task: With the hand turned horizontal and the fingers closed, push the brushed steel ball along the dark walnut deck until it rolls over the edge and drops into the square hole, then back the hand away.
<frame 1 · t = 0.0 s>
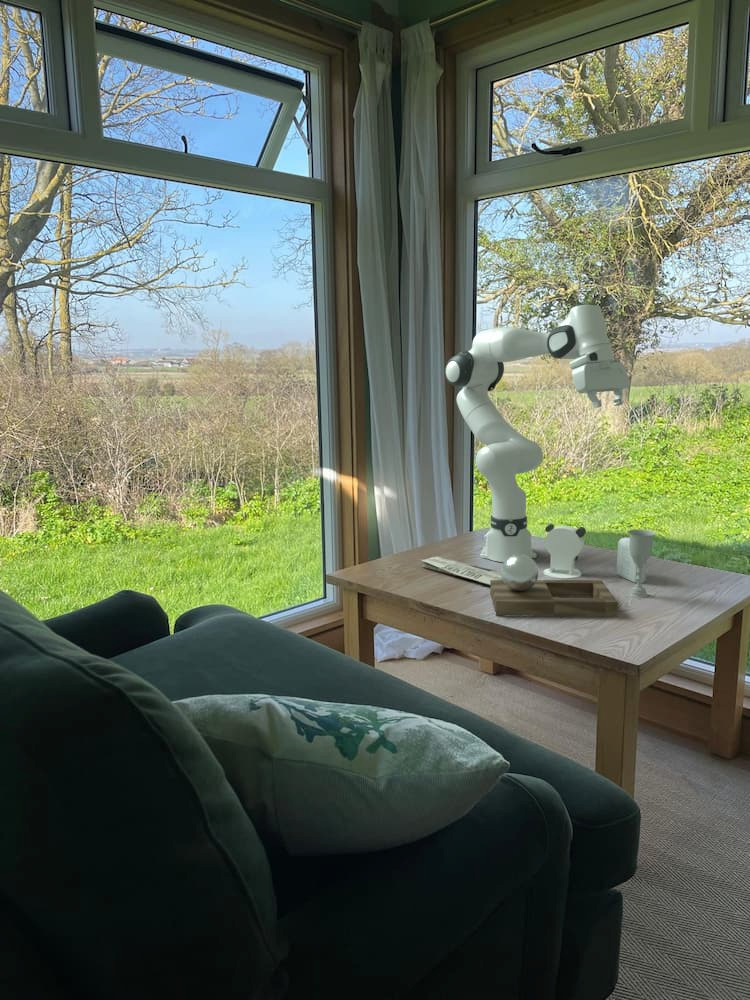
hand: (608, 406, 200), 52 cm above the table, tool tilted 20°, fingers open, 8 cm apart
steel ball: (519, 572, 193), point 9 cm above the table, touching deck
chalice: (638, 595, 200), on the table
photo printer: (630, 579, 215), on the table
panda figurine: (563, 574, 221), on the table
newspaper: (469, 577, 222), on the table
deck: (548, 604, 195), on the table
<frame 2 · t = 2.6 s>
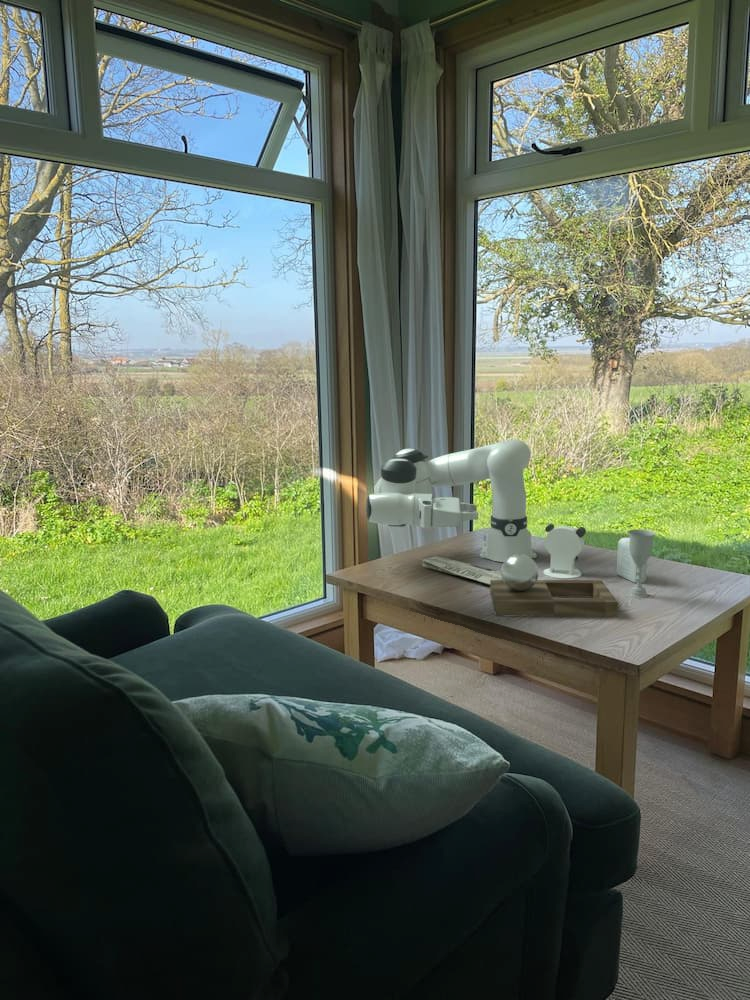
hand: (477, 511, 191), 26 cm above the table, tool horizontal, fingers open, 8 cm apart
nothing on the table moved.
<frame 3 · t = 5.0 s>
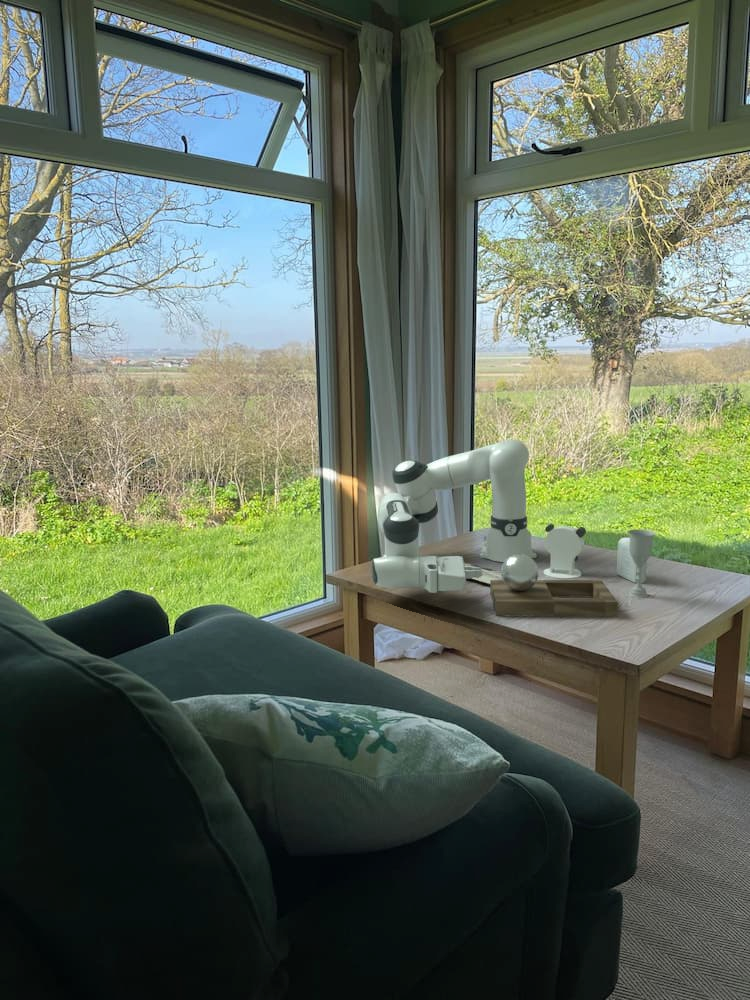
hand: (481, 572, 194), 9 cm above the table, tool horizontal, fingers closed
nothing on the table moved.
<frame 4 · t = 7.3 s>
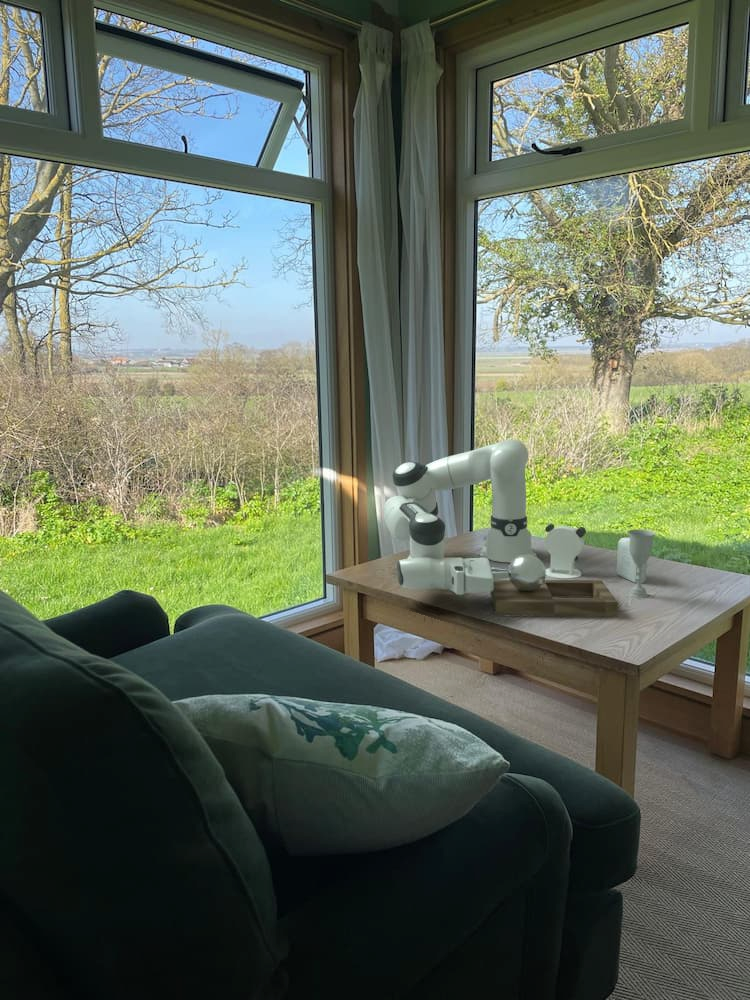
hand: (508, 574, 193), 9 cm above the table, tool horizontal, fingers closed
steel ball: (526, 572, 193), point 9 cm above the table, tilted 22°, touching deck, gripper
everything else where it was.
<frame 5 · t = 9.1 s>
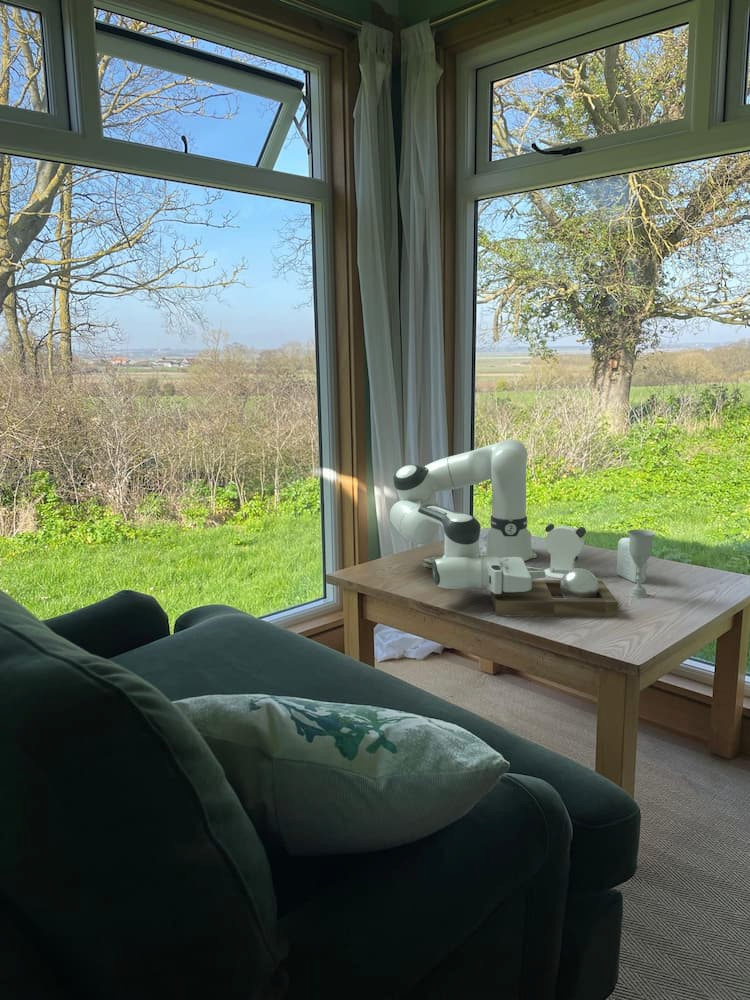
hand: (544, 573, 193), 9 cm above the table, tool horizontal, fingers closed
steel ball: (579, 586, 193), point 5 cm above the table, tilted 156°
everything else where it was.
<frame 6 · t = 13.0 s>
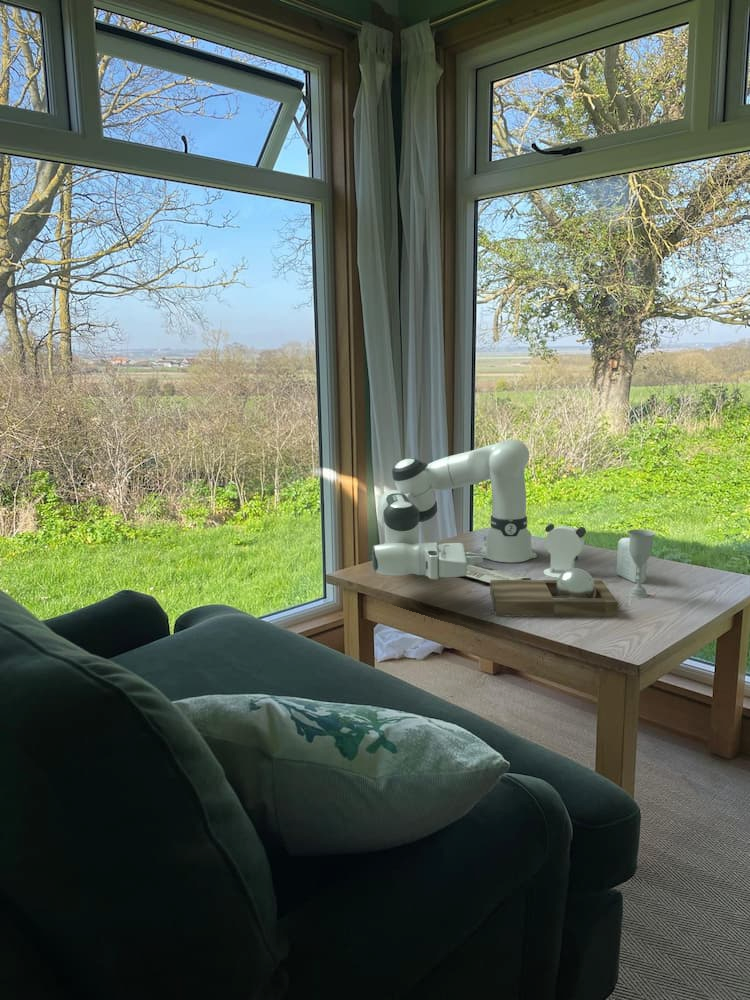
hand: (482, 558, 193), 13 cm above the table, tool horizontal, fingers closed
steel ball: (575, 586, 193), point 5 cm above the table, tilted 166°
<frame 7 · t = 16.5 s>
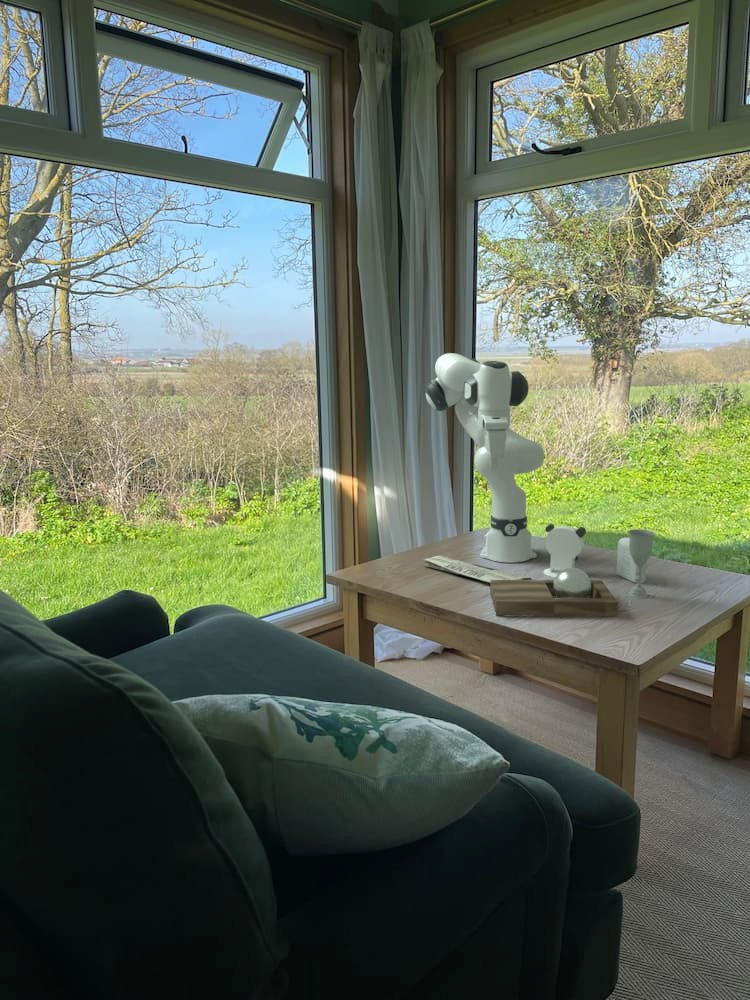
hand: (493, 469, 202), 35 cm above the table, tool pointing down, fingers closed
steel ball: (572, 586, 193), point 5 cm above the table, tilted 173°
at the end: steel ball inside the target area on the deck (0.9 cm from its centre), point 5.0 cm above the deck's base; steel ball touching table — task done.
